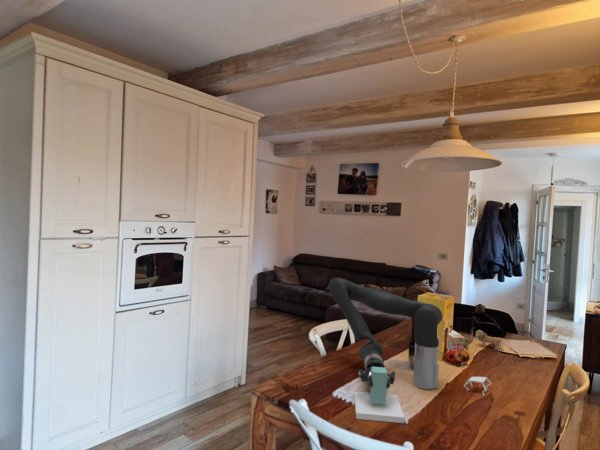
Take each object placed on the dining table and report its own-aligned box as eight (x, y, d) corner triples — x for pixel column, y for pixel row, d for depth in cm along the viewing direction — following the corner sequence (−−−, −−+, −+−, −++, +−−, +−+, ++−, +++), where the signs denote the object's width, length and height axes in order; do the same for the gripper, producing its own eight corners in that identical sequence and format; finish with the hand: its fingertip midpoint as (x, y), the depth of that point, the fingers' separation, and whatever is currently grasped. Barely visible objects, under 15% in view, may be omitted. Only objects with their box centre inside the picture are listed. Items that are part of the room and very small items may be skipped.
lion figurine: (473, 346, 212) (474, 330, 212) (475, 344, 217) (476, 328, 217) (503, 352, 204) (504, 336, 204) (504, 350, 208) (505, 333, 208)
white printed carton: (433, 346, 209) (434, 324, 209) (444, 346, 210) (446, 324, 209) (451, 361, 188) (452, 336, 188) (463, 362, 188) (464, 337, 188)
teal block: (383, 397, 139) (385, 367, 139) (385, 404, 134) (387, 373, 134) (370, 396, 140) (371, 366, 139) (371, 402, 135) (373, 372, 134)
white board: (396, 400, 144) (396, 395, 144) (404, 423, 128) (404, 417, 128) (353, 396, 146) (354, 391, 146) (356, 418, 130) (356, 413, 130)
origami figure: (481, 398, 150) (482, 386, 149) (462, 390, 156) (462, 378, 156) (497, 391, 157) (498, 379, 156) (477, 383, 163) (478, 372, 163)
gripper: (356, 355, 152) (359, 373, 135) (393, 358, 150) (401, 376, 133) (355, 374, 152) (358, 394, 135) (392, 377, 151) (399, 397, 134)
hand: (379, 385), depth 134 cm, fingers closed on teal block, 5 cm apart
